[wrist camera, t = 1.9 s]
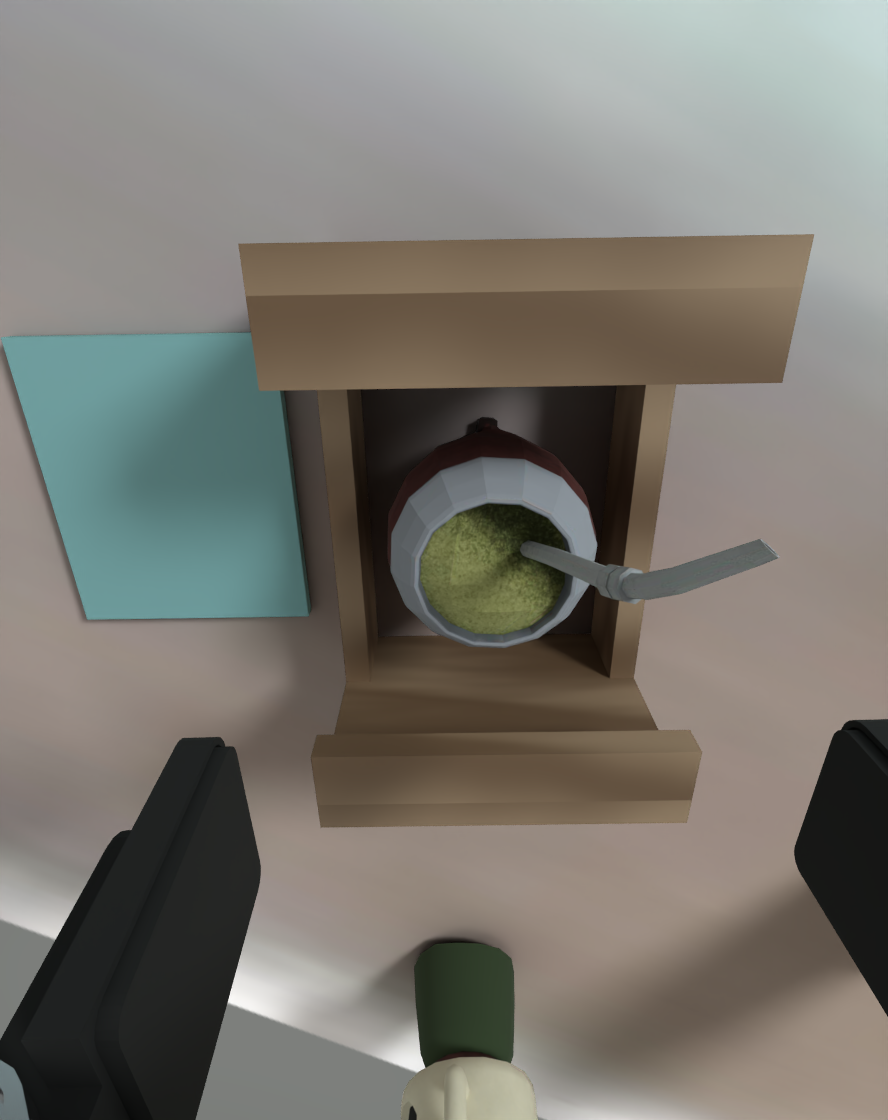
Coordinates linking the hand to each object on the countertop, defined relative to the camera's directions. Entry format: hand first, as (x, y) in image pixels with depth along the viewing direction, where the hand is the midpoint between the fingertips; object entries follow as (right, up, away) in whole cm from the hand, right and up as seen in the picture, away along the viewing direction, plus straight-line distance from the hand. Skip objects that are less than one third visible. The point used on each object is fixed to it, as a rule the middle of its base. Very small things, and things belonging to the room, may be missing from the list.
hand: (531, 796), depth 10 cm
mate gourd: (0, +7, +16) cm, 17 cm away
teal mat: (-13, +7, +16) cm, 21 cm away
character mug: (0, -22, +29) cm, 37 cm away
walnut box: (0, +7, +16) cm, 17 cm away
